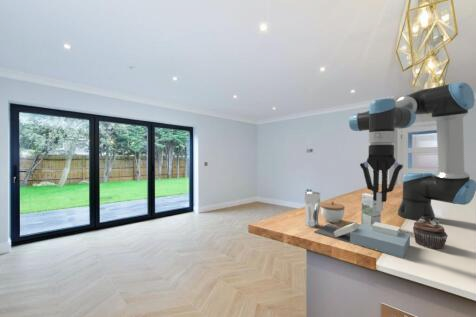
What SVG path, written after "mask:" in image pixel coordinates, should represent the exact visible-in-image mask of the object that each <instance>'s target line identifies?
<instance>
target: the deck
mask: <svg viewBox="0 0 476 317" xmlns="http://www.w3.org/2000/svg"><path fill="white" fill-rule="evenodd" d="M358 225H359V228H357V229H356V230H355V231H352V232H350V243H349V244H352V243H353V245H356V244H357V245H356V246H359V245H361V246H360V247H362V246H364V247H363V248H366V247H368V248H367V249H369V248H373V249H377V250H380V251H381V252H380V251H379V252H380V253H383V254H386V255H391V256H394V257H397V258H401V259H404V257H405V255H406V253H407V252H408V251H409V250H408V249H409V247H410V246H411V245H410V244H411V234H410V233H406V232H401V231H400V233H399V234H398V236H393V235H389V234H385V233H381V232H377V231H372V226H370V225H366V224H361V223H360V224H358ZM373 249H372V250H373Z"/></svg>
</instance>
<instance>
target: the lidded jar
mask: <svg viewBox="0 0 476 317" xmlns="http://www.w3.org/2000/svg"><path fill="white" fill-rule="evenodd" d="M345 208H346V207H345V206H344V205H343V204H340V203H337V202H334V201H330V202H321V203H320V212H321V216H322V218H323V219H324V221H326V222H328V223H333V224H336V223H337V224H338V223H339V222H340V221H341V220H342V219H343V218H344V215H345Z"/></svg>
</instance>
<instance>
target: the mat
mask: <svg viewBox="0 0 476 317" xmlns="http://www.w3.org/2000/svg"><path fill="white" fill-rule="evenodd" d="M342 227H343V226H338V225H334V224H330V223H327V224H326V225H323V226H322V227H320V228H318V229H316V230H315V231H313V233H315V234H318V235H322V236H325V237H329V238H332V239H335V240H338V239H339V240H338V241H343V242H345V241H346V243H349V242H350V232H349V233H346V234H344V235H341V236H338V237H336V236H335V234H334V233H333V232H334V231H336V230H337V229H339V228H342Z"/></svg>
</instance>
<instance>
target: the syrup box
mask: <svg viewBox="0 0 476 317" xmlns="http://www.w3.org/2000/svg"><path fill="white" fill-rule="evenodd" d="M381 216H382V211H376V201H374V200H373V192H365V193H362V194H361V223H360V225H361V224H366V225H370V226H372V225H373V224H374V223H375V222H378V223H382V222H381V221H382V220H381V218H382V217H381Z"/></svg>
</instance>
